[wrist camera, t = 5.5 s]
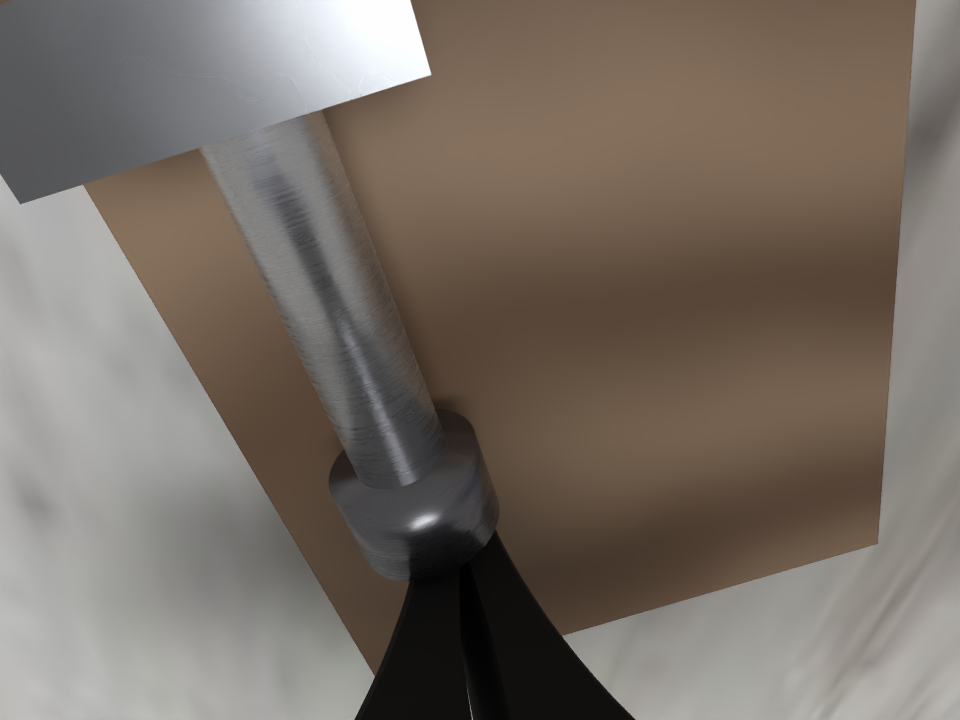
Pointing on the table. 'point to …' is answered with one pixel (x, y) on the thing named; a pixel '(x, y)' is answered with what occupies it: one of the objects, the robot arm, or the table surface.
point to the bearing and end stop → (179, 76)
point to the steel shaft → (356, 354)
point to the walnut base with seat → (592, 289)
